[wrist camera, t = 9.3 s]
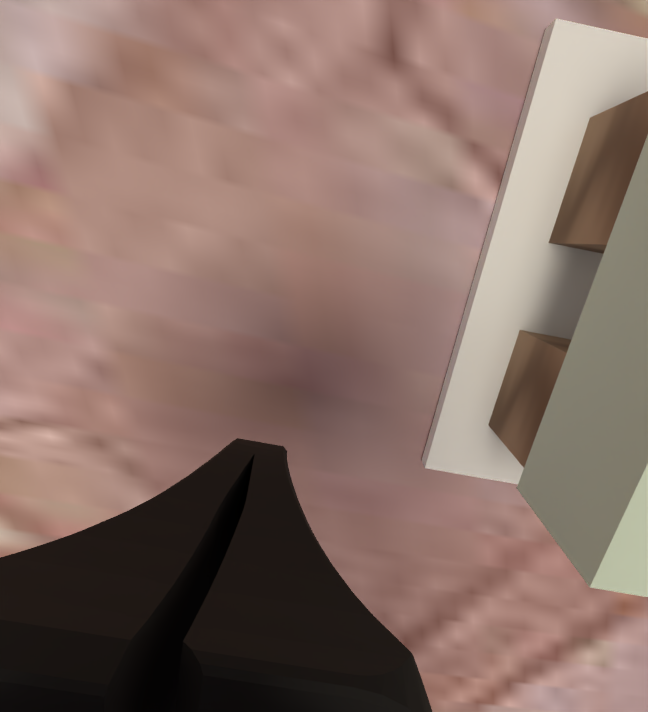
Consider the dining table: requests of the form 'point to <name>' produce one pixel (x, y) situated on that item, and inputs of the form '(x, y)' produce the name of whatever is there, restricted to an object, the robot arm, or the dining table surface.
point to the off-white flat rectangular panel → (530, 241)
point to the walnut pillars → (577, 230)
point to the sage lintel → (602, 417)
